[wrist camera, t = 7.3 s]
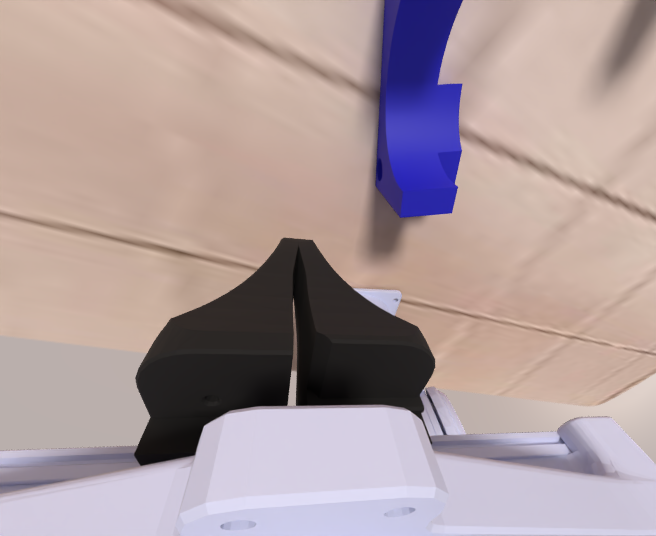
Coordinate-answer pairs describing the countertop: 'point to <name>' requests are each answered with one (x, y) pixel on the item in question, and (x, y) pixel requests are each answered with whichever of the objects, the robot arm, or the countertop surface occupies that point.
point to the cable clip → (417, 110)
